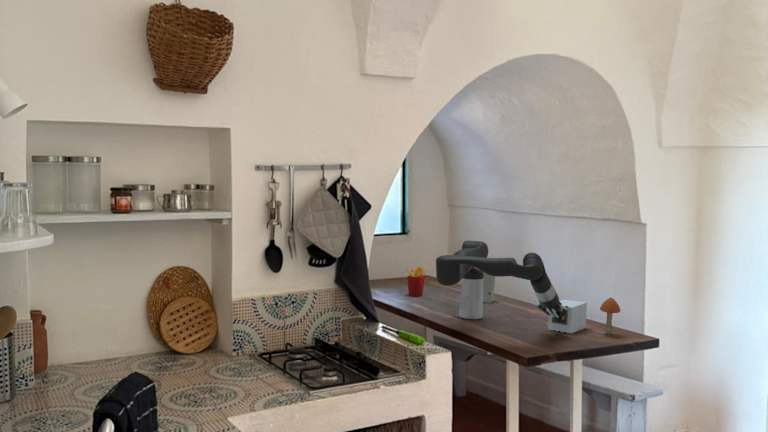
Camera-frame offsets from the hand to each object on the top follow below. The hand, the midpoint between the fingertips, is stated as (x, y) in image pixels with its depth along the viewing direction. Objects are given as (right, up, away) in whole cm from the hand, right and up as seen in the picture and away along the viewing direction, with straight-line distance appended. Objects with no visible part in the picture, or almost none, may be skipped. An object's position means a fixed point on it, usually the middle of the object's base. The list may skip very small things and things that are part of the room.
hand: (559, 320), depth 304 cm
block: (+5, -4, +7) cm, 9 cm away
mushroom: (+19, -6, -2) cm, 20 cm away
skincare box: (-22, 0, +62) cm, 66 cm away
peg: (+4, 0, +5) cm, 7 cm away
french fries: (-53, +2, +73) cm, 91 cm away
